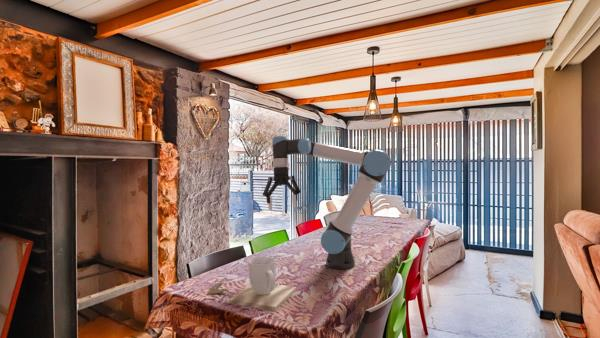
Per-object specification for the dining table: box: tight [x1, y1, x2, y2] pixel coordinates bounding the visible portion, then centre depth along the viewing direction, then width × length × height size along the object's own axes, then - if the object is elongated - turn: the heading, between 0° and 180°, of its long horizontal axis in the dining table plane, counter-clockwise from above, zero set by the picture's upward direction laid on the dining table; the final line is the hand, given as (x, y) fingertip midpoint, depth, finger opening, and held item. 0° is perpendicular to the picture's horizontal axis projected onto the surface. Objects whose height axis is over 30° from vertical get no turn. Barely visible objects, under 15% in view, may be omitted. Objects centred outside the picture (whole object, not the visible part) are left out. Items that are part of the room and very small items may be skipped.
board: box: [228, 283, 297, 312], centre depth 131 cm, size 20×20×2 cm
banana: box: [206, 276, 230, 295], centre depth 143 cm, size 9×20×2 cm, turn 16°
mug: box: [248, 256, 277, 295], centre depth 131 cm, size 15×11×13 cm
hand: (282, 208), depth 164 cm, fingers open, 13 cm apart
